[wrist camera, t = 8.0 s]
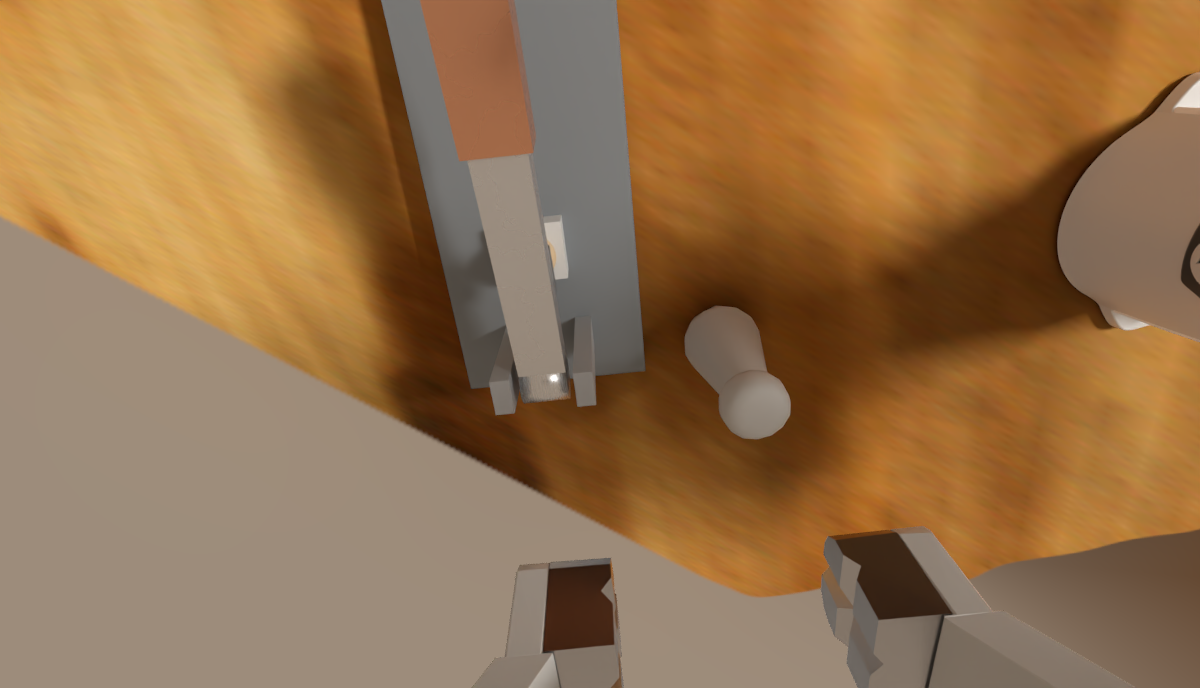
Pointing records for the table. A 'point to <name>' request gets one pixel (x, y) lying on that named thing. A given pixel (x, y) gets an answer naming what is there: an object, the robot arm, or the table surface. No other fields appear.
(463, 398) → the table surface
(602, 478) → the table surface
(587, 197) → the base
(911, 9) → the table surface
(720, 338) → the salt shaker
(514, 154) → the lever
